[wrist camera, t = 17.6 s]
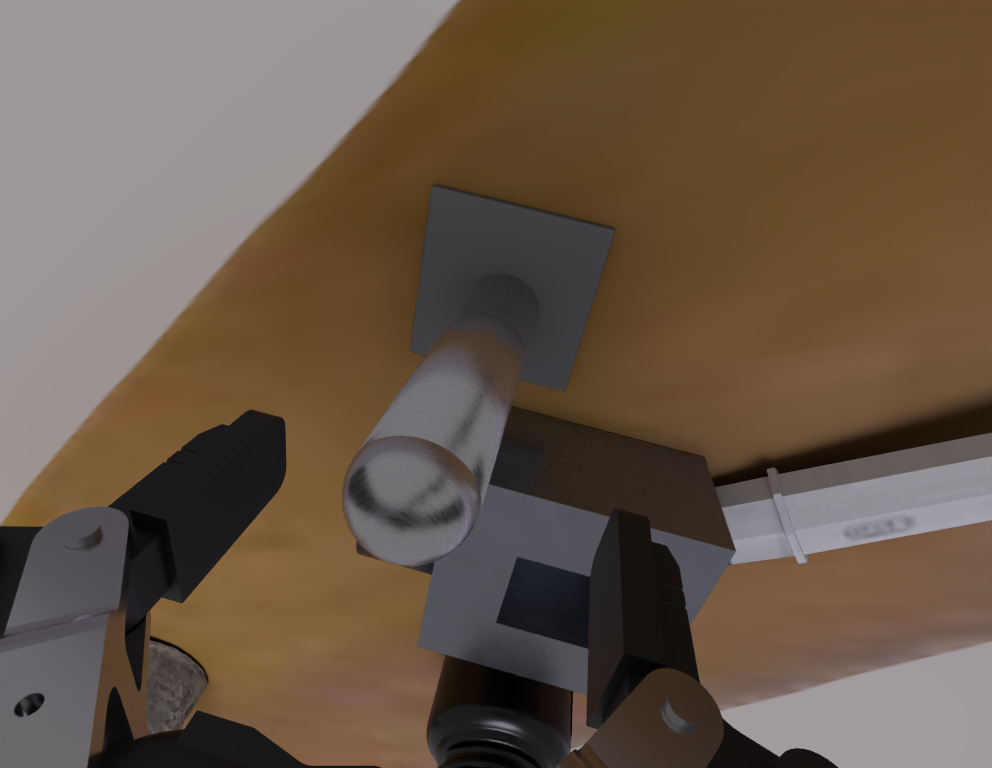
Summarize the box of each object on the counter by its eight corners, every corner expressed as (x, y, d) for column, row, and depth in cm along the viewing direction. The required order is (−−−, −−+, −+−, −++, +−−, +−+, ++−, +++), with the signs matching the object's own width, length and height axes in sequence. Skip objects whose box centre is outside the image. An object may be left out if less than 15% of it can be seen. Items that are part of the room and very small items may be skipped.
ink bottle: (482, 699, 40) (444, 909, 29) (422, 626, 37) (356, 831, 26) (599, 679, 36) (603, 909, 26) (543, 597, 33) (522, 819, 23)
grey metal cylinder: (455, 321, 24) (298, 554, 12) (485, 260, 23) (341, 456, 10) (517, 354, 25) (429, 618, 12) (551, 296, 23) (492, 532, 10)
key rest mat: (435, 184, 22) (432, 186, 22) (614, 227, 22) (615, 230, 21) (413, 346, 26) (409, 351, 26) (565, 385, 26) (564, 391, 25)
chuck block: (408, 379, 27) (361, 449, 21) (704, 457, 26) (735, 551, 21) (387, 537, 33) (345, 625, 27) (629, 604, 32) (637, 709, 27)
